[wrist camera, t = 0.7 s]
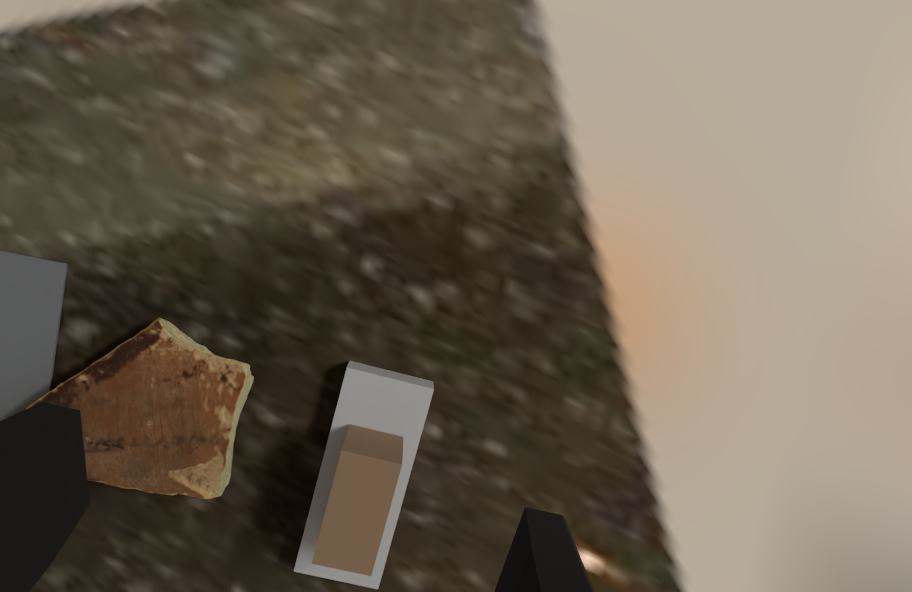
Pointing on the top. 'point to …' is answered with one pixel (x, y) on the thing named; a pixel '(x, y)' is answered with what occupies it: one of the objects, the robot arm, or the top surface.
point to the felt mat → (28, 328)
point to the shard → (158, 413)
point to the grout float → (364, 475)
